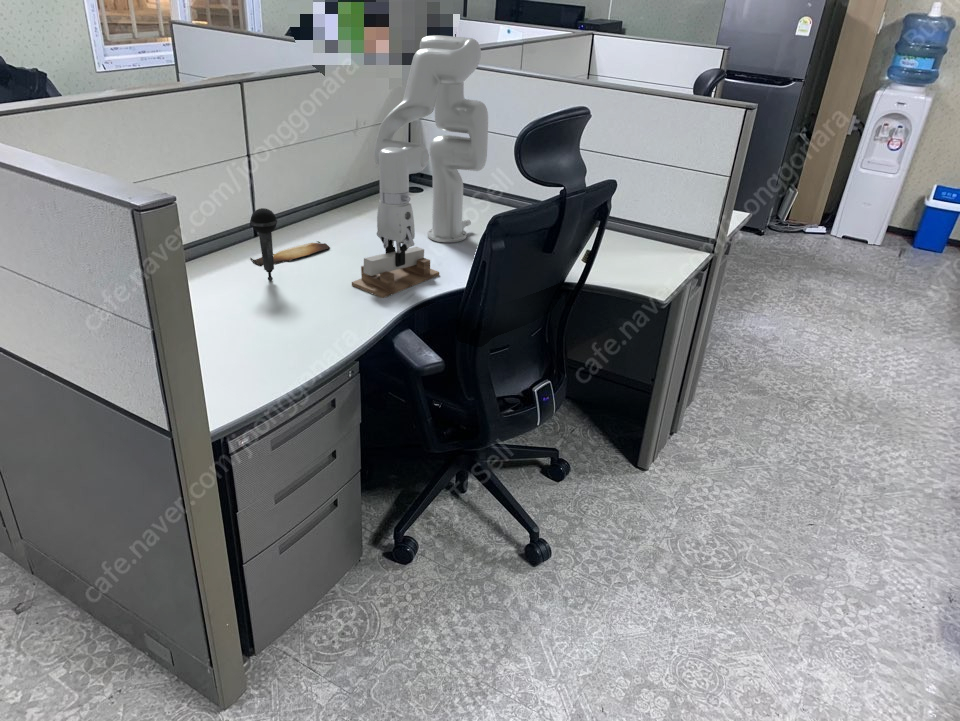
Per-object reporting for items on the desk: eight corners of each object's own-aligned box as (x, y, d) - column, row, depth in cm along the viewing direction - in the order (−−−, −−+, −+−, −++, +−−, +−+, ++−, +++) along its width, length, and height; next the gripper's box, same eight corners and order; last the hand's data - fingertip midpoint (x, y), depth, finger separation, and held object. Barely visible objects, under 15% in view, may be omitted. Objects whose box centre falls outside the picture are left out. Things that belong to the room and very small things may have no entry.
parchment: (318, 241, 224) (318, 238, 223) (337, 249, 218) (337, 246, 217) (246, 261, 208) (246, 258, 208) (264, 270, 202) (264, 267, 202)
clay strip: (415, 260, 204) (416, 246, 202) (423, 263, 202) (424, 249, 201) (363, 272, 189) (363, 258, 188) (371, 275, 188) (371, 261, 186)
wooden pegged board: (408, 264, 209) (408, 247, 207) (439, 275, 203) (439, 258, 200) (351, 285, 194) (350, 268, 192) (383, 298, 188) (382, 280, 185)
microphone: (260, 287, 191) (251, 214, 181) (254, 278, 196) (245, 206, 186) (286, 283, 193) (279, 211, 184) (280, 274, 199) (272, 203, 189)
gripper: (427, 200, 185) (427, 267, 194) (382, 188, 194) (384, 253, 203) (406, 206, 180) (407, 275, 189) (362, 193, 189) (364, 259, 198)
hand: (395, 263), depth 196 cm, fingers closed on clay strip, 3 cm apart
